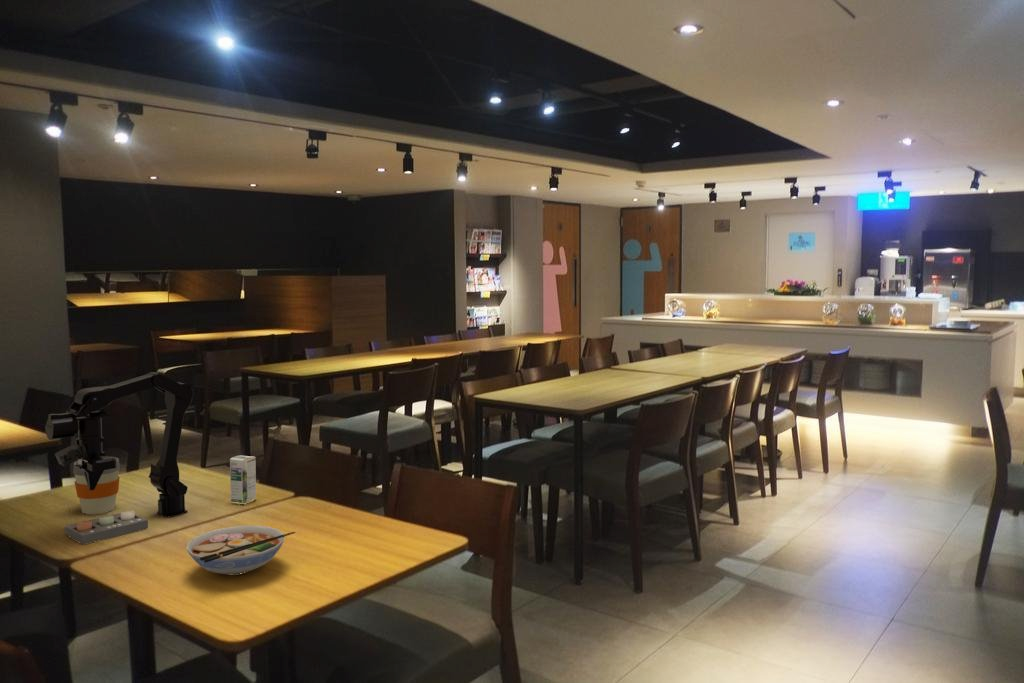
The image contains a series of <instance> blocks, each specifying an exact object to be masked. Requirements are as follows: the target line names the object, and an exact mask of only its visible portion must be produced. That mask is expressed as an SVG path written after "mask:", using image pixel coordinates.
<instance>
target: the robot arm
mask: <svg viewBox="0 0 1024 683" xmlns="http://www.w3.org/2000/svg"><path fill="white" fill-rule="evenodd" d="M153 388H155V389H156V390H158V391H160V392H162V393H164V403H165V406H166V411H167V412H166V413H167V414H166V418H165V419H166V420H165V425H164V430H163V437H162V443H161V448H160V449H161V450H160V455H159V460H158V461H157V462H156V463H155V464H154V463H152V464H151V465H150V472H149V475H148V478H150V479H149V481H150V484H151V485H152V486H153V487H154V488H156V490H157V492H158V493H159V497H158V500H157V512H156V513H157V514H158V515H160V516H163V517H165V518H171V517H174V516H179V515H183V514H187V513H189V512H188V510H187V509H186V504H185V503H186V502H185V501H186V500H185V499H186V497H185V495H187V491H188V486H187V485H185V484H184V483H183V482H182V481H180V469H179V465H178V454H179V449H180V444H181V443H180V442H181V436H182V430H183V424H184V418H185V414H186V412H187V410H188V409H189V407H190V406H191V404H192V401H193V398H194V392H195V391H194V389H193V387H192V386H191V385H189V384H188V383H183V382H179V381H175V380H173V379H171V378H169V377H167V376H164V375H163V374H162V373H160V372H155V371H151V372H150V371H149V372H148V373H147V374H144V375H141V376H137V377H135V378H134V377H133V378H130V379H127V380H124V381H121V382H117V383H114V384H111V385H106V386H105V385H103V386H93V387H86V388H82V389H79V390H78V391H77V392H76V394H75V395H74V400H73V402H72V403H71V404H70V406H69V408H68V409H67V410H66V412H62V413H49V414H48V418H47V421H46V424H45V426H44V428H45V435H46V437H47V439H48V440H49V441H51V440H53V441H54V440H59V439H61V440H62V439H66V438H73V437H75V436H76V435H78V437H77V438H75V440H74V444H72V445H69V446H67V447H66V448H63V449H62V450H59V451H57V452H55V453H54V456H55V457H56V460H57V462H58V465H61V466H62V467H68V466H70V465H71V464H72V463H75V462H76V461H78V465H75V466H76V467H77V468H79V469H80V470H82V471H83V474H84V476H85V479H86V482H87V485H88V488H89V490H94V489H95V487H96V485H97V483H98V481H99V479H100V477H101V475H102V473H103V472H104V470H108V469H114V468H116V461H115V460H114V459H113V458H111V457H112V456H107V455H106V452H105V451H103V443H104V442H105V441H106V439H105V437H103V429H102V428H103V426H102V425H103V424H102V422H103V421H102V420H103V418H109V417H110V415H111V414H110V413H109V412H107V411H105V409H104V408H105V407H107V406H108V405H111V404H112V403H113V402H115V401H116V400H119V399H122V398H124V397H128V396H131V395H134V394H138V393H140V392H143V391H146V390H149V389H153Z"/></svg>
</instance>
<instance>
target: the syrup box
mask: <svg viewBox="0 0 1024 683" xmlns="http://www.w3.org/2000/svg"><path fill="white" fill-rule="evenodd" d="M256 465H257V464H256V456H248V455H241V454H240V455H235V456H233V457H231V458H230V459H229V475H230V477H229V479H230V483H229V484H230V503H231V502H239V503H246V502H249V501H250V500H252V499H254V498H256V499H257V481H256V480H257V478H256V477H257V475H256V474H257V472H256V471H257V468H256Z"/></svg>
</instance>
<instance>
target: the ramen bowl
mask: <svg viewBox="0 0 1024 683" xmlns="http://www.w3.org/2000/svg"><path fill="white" fill-rule="evenodd" d="M293 534H296V531H291V532H289V533H285V534H284V532H282V531H281V530H279V529H278V528H276V527H275V528H273V527H269V526H264V525H249V524H248V525H237V526H228V527H227V526H226V527H223V528H219V529H218V528H217V529H213V530H210V531H206V532H204V533H202V534H198V535H197V536H195V537H193V538H192V539H191V540H189V541H188V542H187V544H186V547H185V549H186V551H187V553H188V554H189V556H190V557H191V558H192V559H193V560H194V562H196V563H197V564H198V565H199V566H200V567H201V568H202V569H203V570H206V571H208V572H212V573H216V574H223V575H226V574H240V573H244V572H247V571H250V572H251V571H254V570H255V569H258V568H260V567H262V566H263V567H264V565H265V564H267V563H268V562H270V561H271V560H272V559H273V558H274V557H275V555H276V554H277V553H279V550H280V548H282V546H283V543H284V542H285V537H287V536H291V535H293ZM247 573H248V572H247ZM244 574H245V573H244Z"/></svg>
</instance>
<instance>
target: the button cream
mask: <svg viewBox="0 0 1024 683" xmlns="http://www.w3.org/2000/svg"><path fill="white" fill-rule="evenodd" d="M120 513H121V521H127V520H132V519H135V514H136V512H135V511H134V510H124V511H122V512H120Z"/></svg>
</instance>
